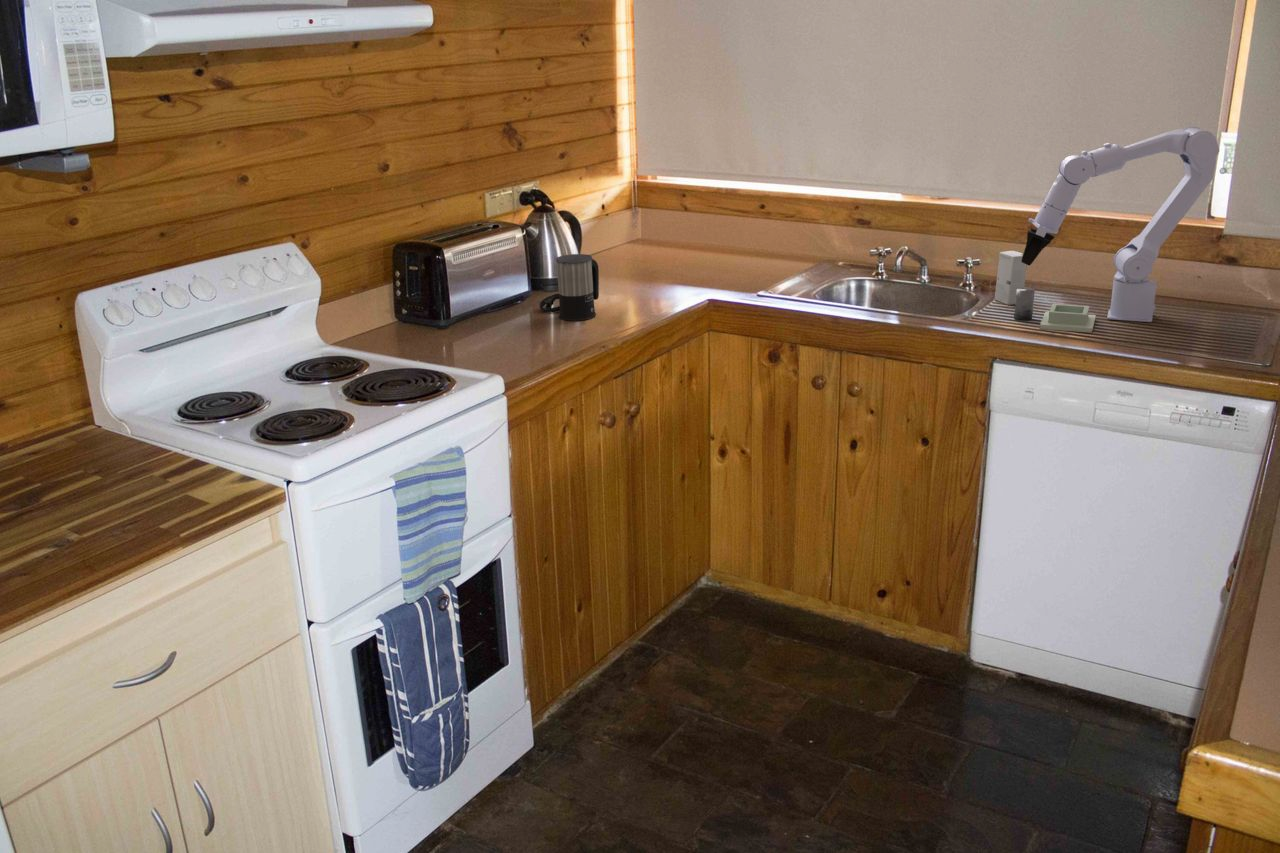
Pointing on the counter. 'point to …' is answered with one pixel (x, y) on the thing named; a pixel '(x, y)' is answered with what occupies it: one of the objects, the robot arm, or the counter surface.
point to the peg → (1024, 303)
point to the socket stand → (1068, 318)
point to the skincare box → (1009, 276)
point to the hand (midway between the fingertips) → (1026, 262)
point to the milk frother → (575, 288)
